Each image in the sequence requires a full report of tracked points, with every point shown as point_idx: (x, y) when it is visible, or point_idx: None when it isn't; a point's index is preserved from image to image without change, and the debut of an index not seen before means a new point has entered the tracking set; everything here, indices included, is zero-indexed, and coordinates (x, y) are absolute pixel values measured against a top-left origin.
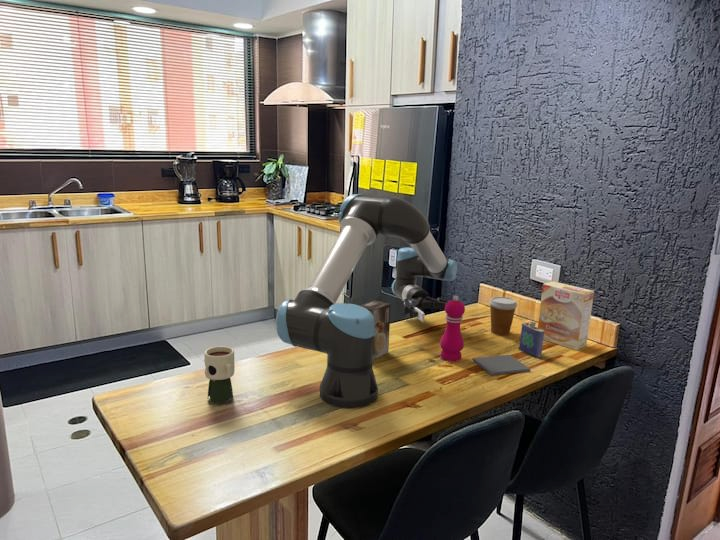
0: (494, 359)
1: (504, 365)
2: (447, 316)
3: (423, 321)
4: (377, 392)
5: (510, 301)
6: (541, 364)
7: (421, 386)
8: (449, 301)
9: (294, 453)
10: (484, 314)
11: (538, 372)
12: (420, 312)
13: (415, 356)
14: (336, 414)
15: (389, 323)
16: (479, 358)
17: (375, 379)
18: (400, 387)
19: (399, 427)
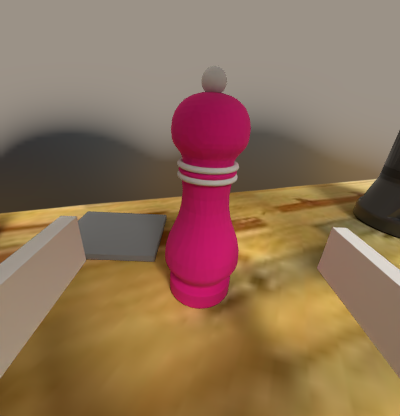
0: (110, 242)
1: (118, 224)
2: (233, 165)
3: (321, 267)
4: (356, 203)
5: None
6: (33, 224)
7: (292, 219)
8: (236, 99)
9: None
10: None
11: (80, 211)
12: (367, 247)
13: (307, 315)
14: None
15: None
16: (138, 252)
17: (368, 193)
18: (326, 223)
19: (315, 188)
